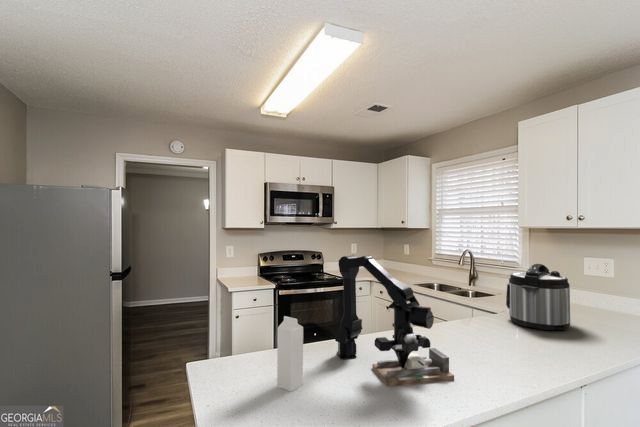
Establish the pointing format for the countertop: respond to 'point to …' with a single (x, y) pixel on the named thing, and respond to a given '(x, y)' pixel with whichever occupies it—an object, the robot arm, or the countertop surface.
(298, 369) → the milk
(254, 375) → the countertop surface
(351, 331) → the robot arm
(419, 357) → the carriage
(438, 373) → the gauge base
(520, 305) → the pressure cooker
